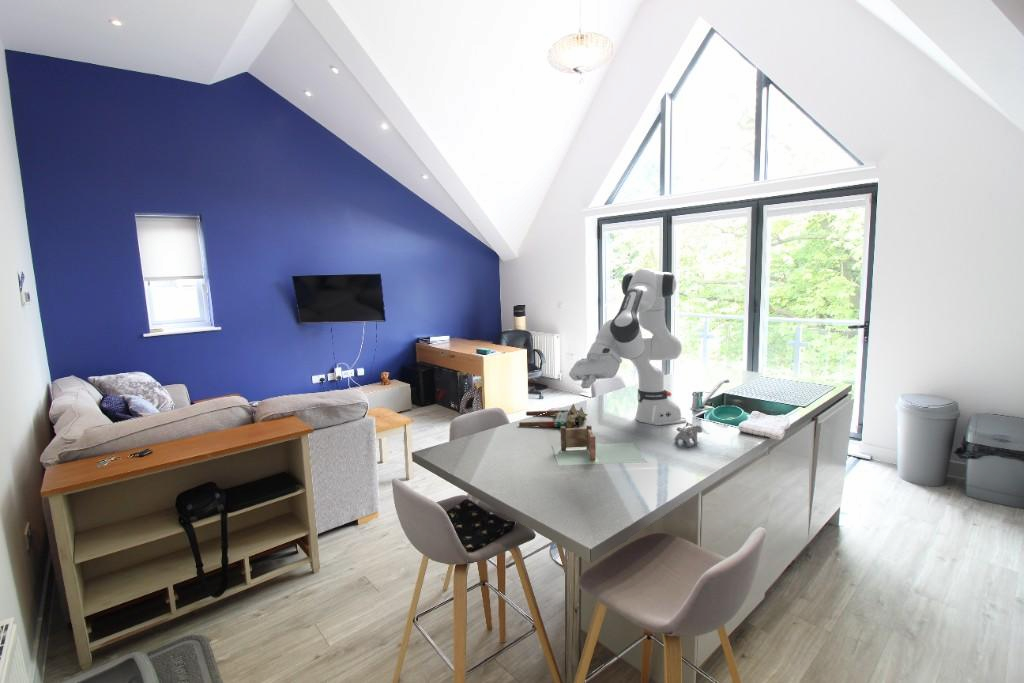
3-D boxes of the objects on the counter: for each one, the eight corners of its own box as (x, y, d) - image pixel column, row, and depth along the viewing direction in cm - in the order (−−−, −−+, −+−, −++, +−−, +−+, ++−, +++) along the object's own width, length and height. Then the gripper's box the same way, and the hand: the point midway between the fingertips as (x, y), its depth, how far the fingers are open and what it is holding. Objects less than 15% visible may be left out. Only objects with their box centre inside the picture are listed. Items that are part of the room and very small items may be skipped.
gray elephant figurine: (671, 445, 192) (672, 426, 190) (683, 435, 201) (684, 417, 199) (695, 450, 186) (695, 431, 184) (706, 440, 195) (706, 422, 193)
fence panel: (587, 449, 186) (587, 427, 185) (591, 449, 186) (591, 427, 185) (590, 460, 175) (590, 437, 174) (595, 460, 175) (595, 436, 174)
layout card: (631, 443, 193) (631, 442, 193) (647, 462, 174) (647, 461, 174) (551, 447, 192) (551, 445, 192) (558, 466, 172) (558, 465, 172)
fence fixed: (591, 448, 189) (591, 425, 188) (592, 449, 187) (592, 426, 186) (560, 449, 188) (560, 426, 187) (561, 451, 186) (561, 428, 185)
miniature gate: (527, 406, 242) (588, 403, 235) (528, 416, 242) (588, 414, 236) (517, 422, 216) (584, 419, 209) (518, 434, 216) (585, 431, 210)
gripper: (574, 354, 183) (559, 383, 177) (615, 348, 167) (600, 380, 161) (584, 364, 186) (569, 393, 180) (626, 360, 170) (611, 391, 163)
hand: (584, 387), depth 170 cm, fingers closed
